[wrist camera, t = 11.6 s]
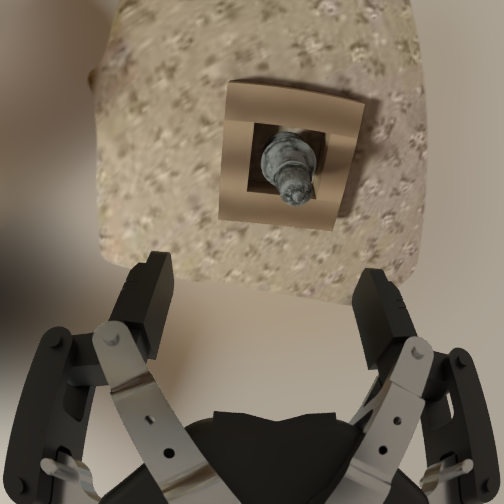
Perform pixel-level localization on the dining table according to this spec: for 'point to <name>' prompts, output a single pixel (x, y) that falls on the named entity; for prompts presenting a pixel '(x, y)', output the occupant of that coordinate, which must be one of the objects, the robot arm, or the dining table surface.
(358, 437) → the robot arm
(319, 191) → the tan picture frame
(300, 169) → the grey tall tiered piece
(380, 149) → the dining table surface
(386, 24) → the dining table surface
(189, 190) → the dining table surface
